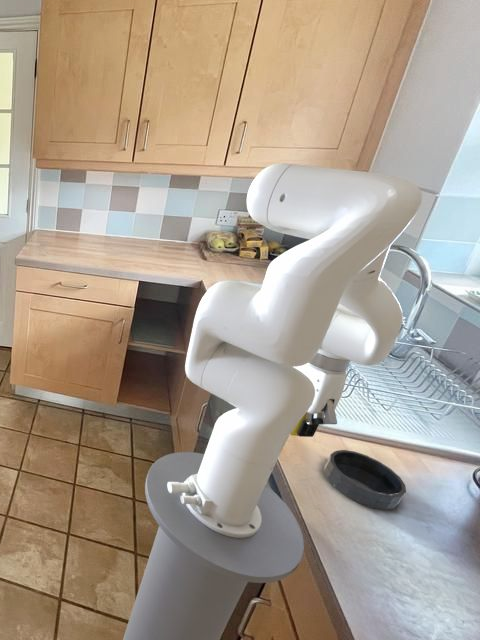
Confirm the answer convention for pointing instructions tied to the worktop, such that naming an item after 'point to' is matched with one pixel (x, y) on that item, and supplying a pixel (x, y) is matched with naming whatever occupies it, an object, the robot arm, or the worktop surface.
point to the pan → (364, 479)
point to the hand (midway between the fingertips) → (294, 424)
